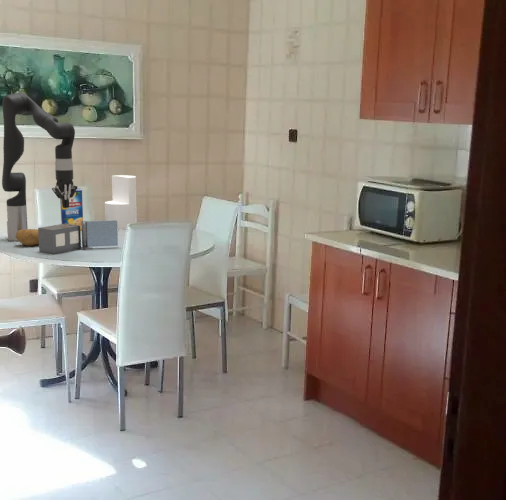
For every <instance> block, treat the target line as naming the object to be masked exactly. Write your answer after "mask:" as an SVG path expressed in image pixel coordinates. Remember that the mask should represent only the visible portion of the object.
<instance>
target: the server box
mask: <svg viewBox="0 0 506 500" xmlns="http://www.w3.org/2000/svg"><path fill="white" fill-rule="evenodd" d="M37 229H38V235H39V244H38V247H39V249H38V251H39V252H41V253H45V254H51V255H56V254H61V253H62V254H63V253H67V252H72V251H77V250H82V251H88V250H93V249H94V248H93V247H87V248H83V247H82V231H80V226H79V225H73V224H67V223H65V224H61V223H60V224H54V225H48V226H40V227H38V228H37Z"/></svg>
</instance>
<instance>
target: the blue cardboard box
mask: <svg viewBox="0 0 506 500" xmlns="http://www.w3.org/2000/svg"><path fill="white" fill-rule="evenodd" d="M59 200H60V221H61V223H60V224H65V223H67V224H73V225H79V226H80V231H81V232H82V227H81V221H84V211H83V210H84V207H83V206H84V205H83V189H82V188H77V190H76V192H75V194H74V195H73V197H72V198H70V199H69V208H63V207H62V199H60V198H59Z"/></svg>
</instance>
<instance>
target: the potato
mask: <svg viewBox="0 0 506 500" xmlns="http://www.w3.org/2000/svg"><path fill="white" fill-rule="evenodd" d="M16 238H17V240H18V241H17V242H19V243H20V244H22V245H23V246H28V247H31V246H32V247H33V246H36V245H39V235H38V228H36V229H34V228H28V229H23V230H19V231H17V233H16Z"/></svg>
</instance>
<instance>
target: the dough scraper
mask: <svg viewBox="0 0 506 500" xmlns="http://www.w3.org/2000/svg"><path fill="white" fill-rule="evenodd" d="M81 227H82V231H81V247H83V248H87V247H92V248H93V247H112V246H113V247H116V246H117V247H118V245H119V243H118V241H119V239H118V238H119V237H118V236H119V235H118V232H119V230H117V220H110V221H105V220H87V221H86V220H83V221H81Z"/></svg>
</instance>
